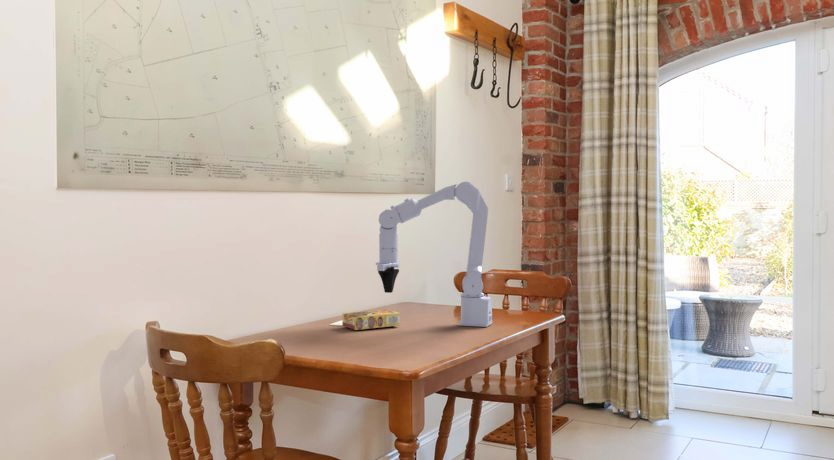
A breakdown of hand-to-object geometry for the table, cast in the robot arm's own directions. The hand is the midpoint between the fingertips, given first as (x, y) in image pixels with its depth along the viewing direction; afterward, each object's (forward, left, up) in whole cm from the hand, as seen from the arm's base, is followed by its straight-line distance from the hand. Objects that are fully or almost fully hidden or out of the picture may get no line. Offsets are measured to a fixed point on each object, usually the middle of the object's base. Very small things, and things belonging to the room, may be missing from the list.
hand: (388, 292), depth 241 cm
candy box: (-2, +2, -8) cm, 8 cm away
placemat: (+10, 0, -10) cm, 14 cm away
